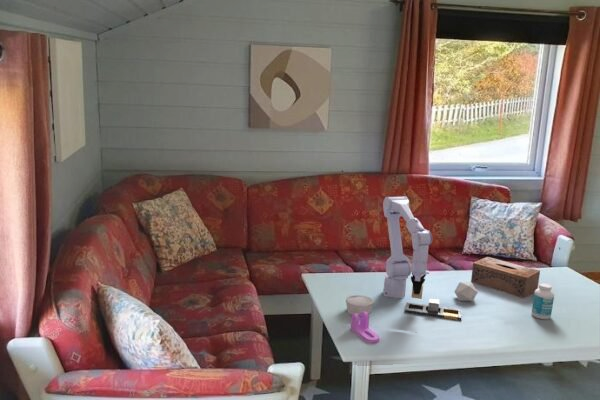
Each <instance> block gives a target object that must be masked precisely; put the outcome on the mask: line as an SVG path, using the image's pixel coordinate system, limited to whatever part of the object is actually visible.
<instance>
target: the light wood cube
mask: <svg viewBox="0 0 600 400" xmlns="http://www.w3.org/2000/svg"><path fill="white" fill-rule="evenodd" d="M423 288H424V284H423V285H422V287H421V291H420V294H419V295H418V294H414V291H413V286H412V287H411V298H413V299H420V300H422V298H423V290H424V289H423Z"/></svg>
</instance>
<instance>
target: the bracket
mask: <svg viewBox="0 0 600 400" xmlns="http://www.w3.org/2000/svg"><path fill="white" fill-rule="evenodd" d="M350 315H351V314H350ZM369 324H370V315H369V314H368V313H367V312H362V313H361V316H359V315H358V314H357V313H355V314H352V315H351V316H350V327H349V328H350V330H351V331H352V332H353V331H354V332H353V333H354V334H356V335H357V334H358V335H359V336H358V335H357V336H358V337H359V338H361V339H362V340H363V339H364V340H363V341H365V342H366V343H369V344H377V343H379V342H380V335H379V334H378V333H376V332H375V331H374V330H372V329H371V328H370V327H369V326H370V325H369Z"/></svg>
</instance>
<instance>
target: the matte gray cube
mask: <svg viewBox="0 0 600 400" xmlns="http://www.w3.org/2000/svg"><path fill="white" fill-rule="evenodd" d="M439 307H440V299H435V298H428V312H433V313H438V309H439Z"/></svg>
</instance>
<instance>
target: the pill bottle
mask: <svg viewBox="0 0 600 400" xmlns="http://www.w3.org/2000/svg"><path fill="white" fill-rule="evenodd" d="M552 288H553V287H552V285H551V284H548V283H543V282H541V283H538V289H536V290H535V292H534V293H533V294H534V295H533V298H532V299H533V300H532V305H531V306H532V309H531V315H532V316H533V317H535V318H536V319H539V318H540V320H549V319H551V317H552V312H553V305H554V299H555V293H554V291H552Z"/></svg>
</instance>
